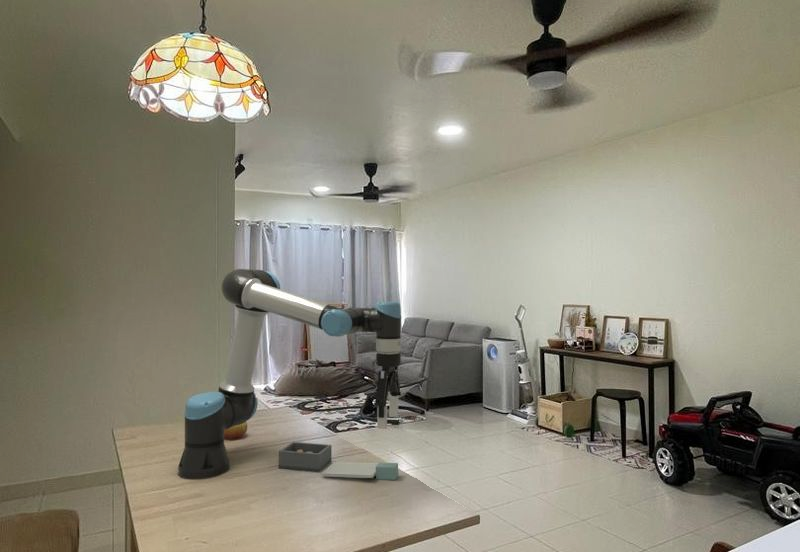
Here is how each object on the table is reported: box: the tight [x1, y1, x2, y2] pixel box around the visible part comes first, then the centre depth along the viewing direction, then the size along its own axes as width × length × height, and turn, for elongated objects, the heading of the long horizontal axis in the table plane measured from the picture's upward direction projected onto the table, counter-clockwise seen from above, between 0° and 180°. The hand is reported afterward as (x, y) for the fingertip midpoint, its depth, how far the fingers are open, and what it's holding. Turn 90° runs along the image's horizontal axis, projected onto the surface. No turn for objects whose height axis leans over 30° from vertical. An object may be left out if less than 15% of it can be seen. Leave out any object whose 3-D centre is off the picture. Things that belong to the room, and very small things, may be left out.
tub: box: [278, 441, 332, 473], centre depth 161 cm, size 14×10×6 cm
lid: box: [321, 461, 399, 481], centre depth 152 cm, size 22×11×4 cm, turn 77°
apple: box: [224, 421, 248, 440], centre depth 192 cm, size 10×10×8 cm
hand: (388, 422), depth 151 cm, fingers open, 13 cm apart
